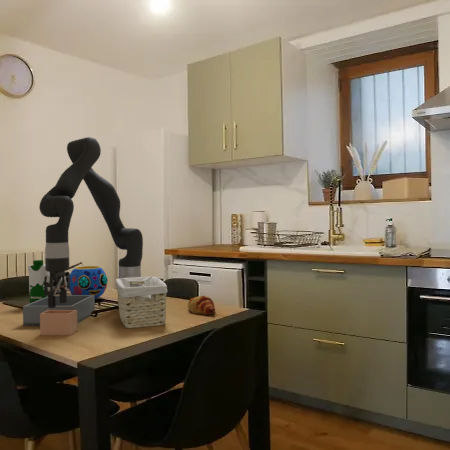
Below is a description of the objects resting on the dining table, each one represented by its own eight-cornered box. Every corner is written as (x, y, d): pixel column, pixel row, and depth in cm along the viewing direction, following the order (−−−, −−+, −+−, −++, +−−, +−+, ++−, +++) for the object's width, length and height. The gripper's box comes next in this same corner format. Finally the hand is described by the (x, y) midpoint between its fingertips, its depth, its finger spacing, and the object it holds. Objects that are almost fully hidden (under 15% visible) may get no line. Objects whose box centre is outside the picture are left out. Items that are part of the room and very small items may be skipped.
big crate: (94, 312, 180) (94, 295, 180) (72, 326, 158) (72, 306, 158) (50, 312, 181) (50, 295, 181) (23, 326, 159) (22, 306, 159)
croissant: (184, 316, 189) (176, 300, 187) (203, 302, 193) (195, 286, 191) (207, 325, 170) (198, 307, 168) (227, 310, 174) (218, 293, 173)
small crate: (77, 330, 152) (77, 309, 152) (70, 335, 146) (69, 313, 146) (48, 330, 153) (48, 309, 153) (40, 335, 147) (39, 313, 147)
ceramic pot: (76, 304, 197) (76, 270, 196) (62, 299, 210) (61, 267, 210) (114, 299, 208) (113, 267, 207) (98, 294, 221) (97, 264, 221)
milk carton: (26, 308, 191) (25, 261, 190) (37, 304, 200) (36, 259, 199) (46, 308, 190) (45, 261, 190) (56, 304, 199) (55, 258, 199)
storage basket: (169, 326, 157) (168, 284, 157) (121, 330, 152) (121, 287, 152) (157, 312, 180) (156, 275, 179) (115, 315, 175) (114, 277, 174)
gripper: (59, 258, 142) (59, 309, 142) (76, 254, 156) (77, 301, 156) (35, 258, 142) (36, 309, 142) (55, 254, 156) (56, 301, 156)
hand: (57, 305), depth 149 cm, fingers open, 8 cm apart
